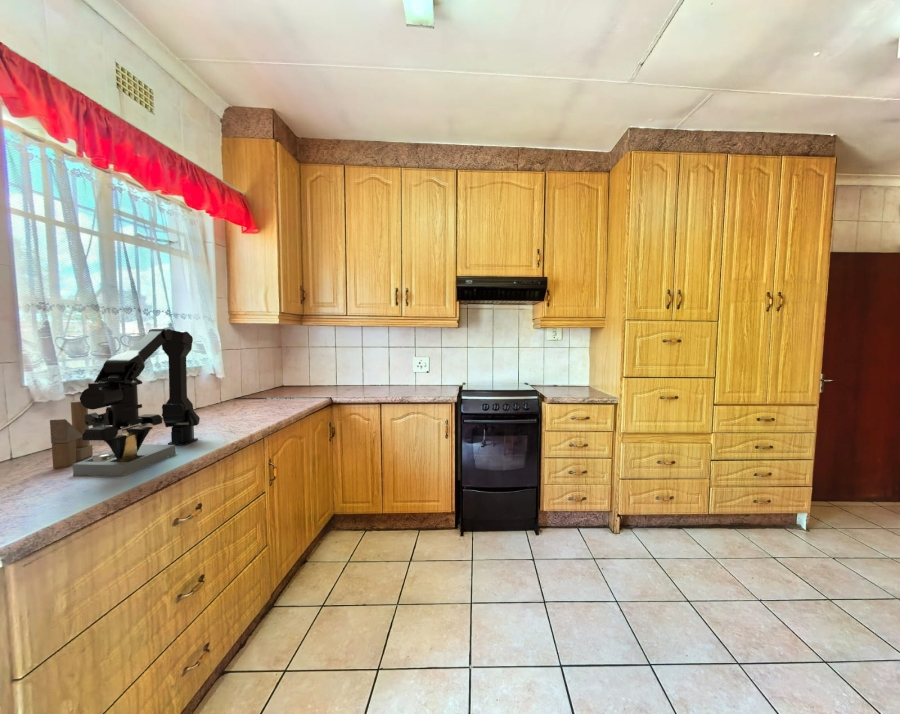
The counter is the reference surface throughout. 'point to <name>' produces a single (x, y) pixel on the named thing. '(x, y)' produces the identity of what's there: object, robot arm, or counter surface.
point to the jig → (113, 468)
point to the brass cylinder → (129, 448)
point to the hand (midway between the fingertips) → (127, 455)
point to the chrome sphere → (103, 457)
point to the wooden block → (70, 438)
